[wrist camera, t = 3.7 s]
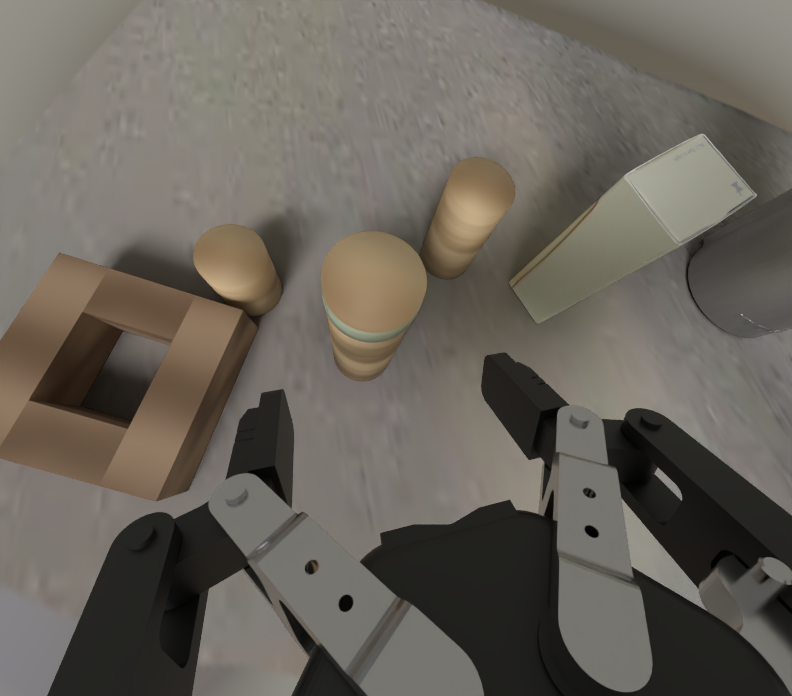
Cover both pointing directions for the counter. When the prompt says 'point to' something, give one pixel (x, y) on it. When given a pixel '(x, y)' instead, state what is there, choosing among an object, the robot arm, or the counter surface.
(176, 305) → the socket block
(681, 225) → the skincare box
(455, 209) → the medium pin
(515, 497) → the counter surface
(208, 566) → the robot arm
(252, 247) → the short pin
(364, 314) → the tall pin
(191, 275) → the counter surface
